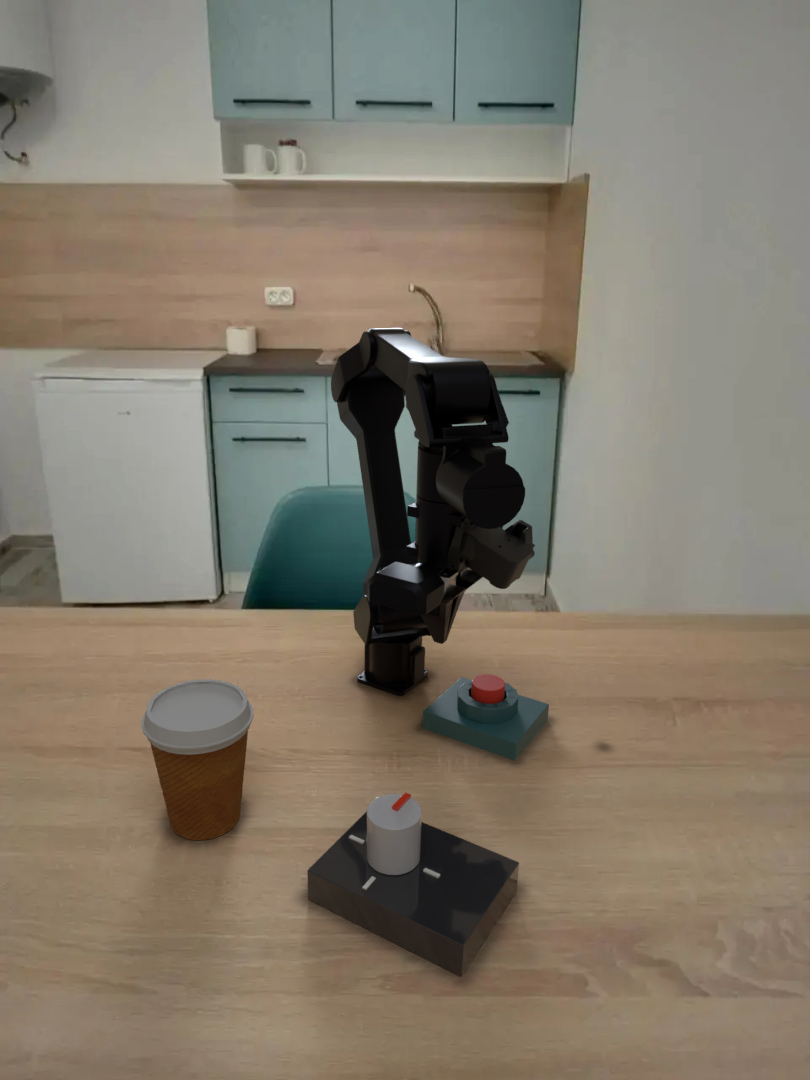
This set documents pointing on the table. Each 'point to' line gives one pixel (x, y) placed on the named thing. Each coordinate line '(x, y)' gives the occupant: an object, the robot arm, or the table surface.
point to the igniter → (486, 719)
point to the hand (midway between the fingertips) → (440, 641)
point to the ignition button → (488, 689)
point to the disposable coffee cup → (200, 753)
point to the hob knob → (393, 834)
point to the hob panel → (419, 893)
